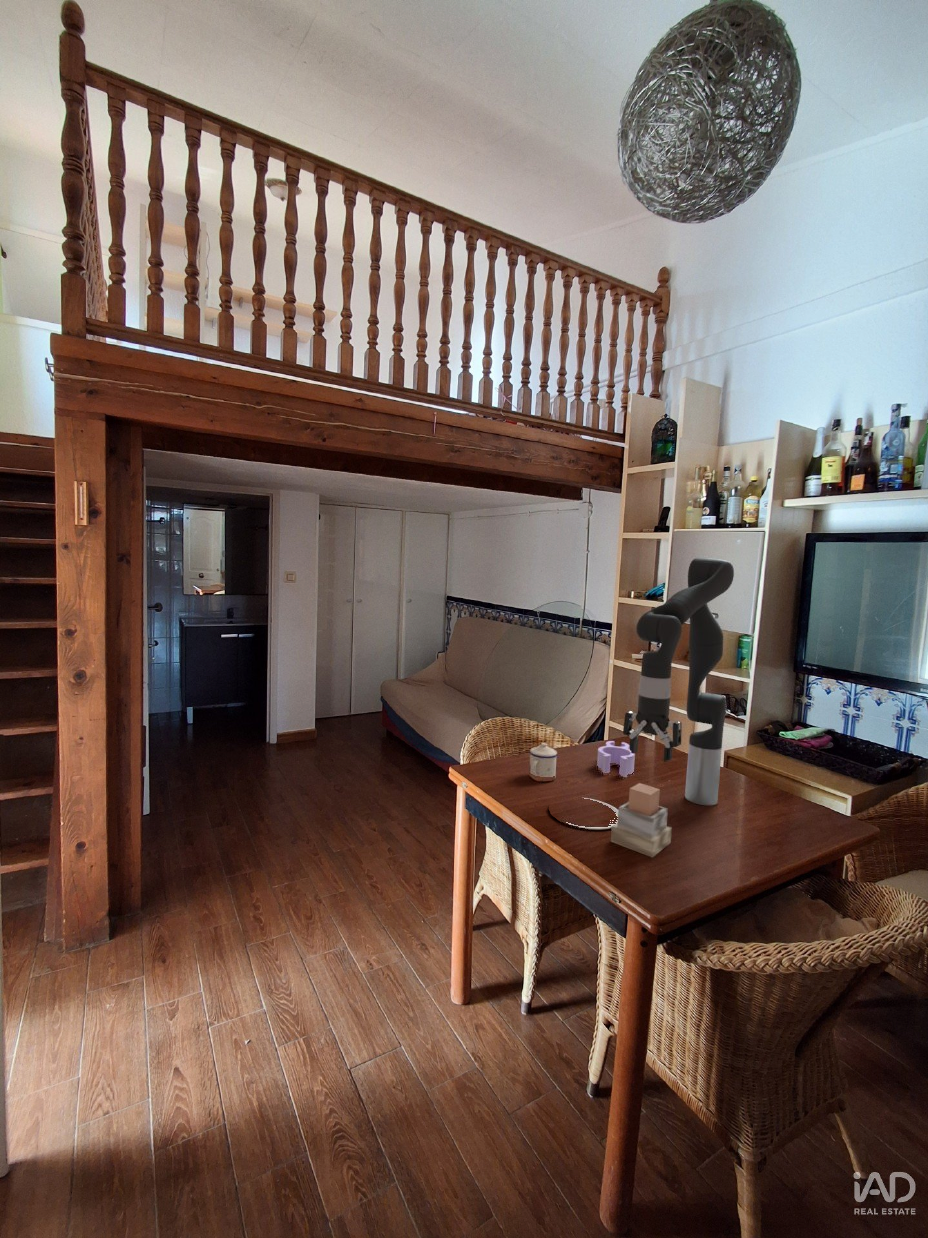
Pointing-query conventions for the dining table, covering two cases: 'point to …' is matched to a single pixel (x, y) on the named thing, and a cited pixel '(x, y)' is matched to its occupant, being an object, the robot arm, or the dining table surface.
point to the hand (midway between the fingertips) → (649, 757)
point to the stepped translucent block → (642, 831)
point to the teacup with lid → (543, 761)
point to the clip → (616, 758)
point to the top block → (644, 799)
